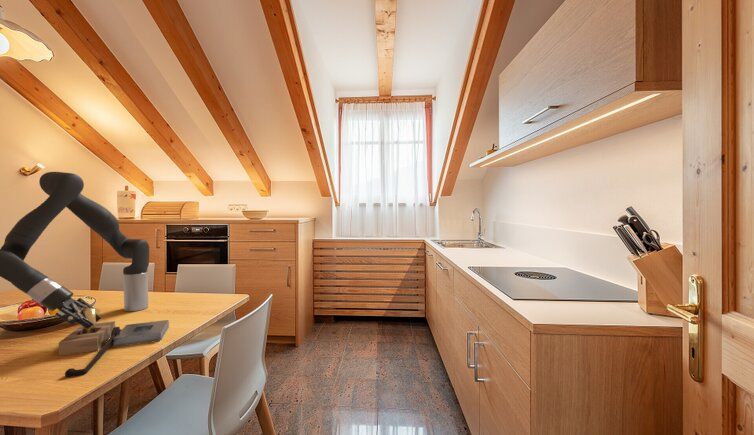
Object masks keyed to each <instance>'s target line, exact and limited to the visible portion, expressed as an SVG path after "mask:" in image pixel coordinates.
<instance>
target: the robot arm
mask: <svg viewBox="0 0 754 435" xmlns="http://www.w3.org/2000/svg"><path fill="white" fill-rule="evenodd" d="M84 186H85V183H84V180H83V178H82V177H81V176H79V175H78V174H75V173H71V172H64V171H63V172H62V171H47V172H45V173H43V174H41V176H40V178H39V187H40V189H41V190H42V191H43V192H44V193H45V194H46V195H47V196H48V197H47V198H46V199H45V200H44V201H43V202H42V203H41V204H39V205H38V206H37V207H35V208H34V209H33V210H31V211H30V212H28V213H26V214H25V215H23V216H22V217H21V218H20V219H19V220H18V221H17V222H16V224H14V225H13V227H12V228H11V230H10V231H9V232H8V233H7V234H6V235H5V238H4V243H3V245H1V247H0V277H1V278H2V279H4V280H6V281H7V282H10V283H11V285H13V286H14V287H15V288H17V289H18V290H19V291H21V292H23V293H24V294H26V295H27V296H29V297H30V298H31V299H32V300H34V301H35V302H36V303H38V304H39V305H41V306H43V307H45V308H46V309H48V310H49V311H51V312H54V311H55V310H58V311H57V312H55V314H54V315H55V316H57V317H58V318H60V319H62V320H64V321H66V322H68V323H70V324H72V325H74V324H79V325H80V326H81V325H82V326H83V327H85V328H87V329H89V328H90V327H91V326H92V325H93V323H92V322H91V321H89V320H88V319H86V318H85V317H83V316H82V310H83V309H87V308H94V306H92V305H91V304H89V303H88V302H87V301H85V300H84V299H83V298H81V297H79V298H77V300H76V299H74V298H72V297H73V296H74V293H73V292H72V291H71V290H69V289H68V288H66V287H65V286H64V285H62V284H61V283H59V282H57V281H56V280H54V279H52V278H50V277H48V276H47V275H46V274H44V273H43V272H41V271H39V270H37V269H36V268H34V267H32V266H31V265H29V263H27V262H25V261H24V260H25V258H26V257H27V255H28V254H29V251H30V250H31V248H32V247H33V246H34V245H35V243H36V242H37V240H39V238H40V236H41V235H42V234H43V232H44V231H45V230H46V229H47V228H48V226H49V225H50V224H51V223H52V222H53V220H54V219H55V218H56V217H57V216H58V215H60V213H61V212H62V211H63V210H65V209H66V208H67V209H68V210H69V211H70V212H71V213H72V214H74V215H75V216H76V217H77V218H78V219H79V220H80V221H82V222H83V223H84V224H85V225H86V226H87V227H89V228H90V229H91V230H92V231H93V232H95V233H96V234H98V235H99V237H100V238H102V239H103V240H104V241H105V242H107V243H108V244H109V246H111V248H112V249H113V250H114V251H115V252H116V253H117V254H118V255H119V256H120V257H122V258H123V259H131V264H129V265H127V266H124V268H123V269H122V276H123V277H122V280H123V309H124V312H137V311H141V310H145V309H147V308H149V280H148V267H149V264H150V245H149V242H148V241H147V240H146V239H142V238H141V239H140V238H129V237H127V236H126V235H125V234H123V233H122V231H121V230H120V224H119V220H118V219H117V217H116V216H115V215H114V214H113V213H112V212H111V211H110V210H108V208H106V207H104V206H103V205H101V204H100V203H98V202H96V201H94V200H92V199H90V198H88V197H86V196H85V195H84V194H82V192H83V190H84ZM95 315H96V323H98V322H99V321H100V320H101V319H102V316H101V315H99V314H97V313H96V312H95Z"/></svg>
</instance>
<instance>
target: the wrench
mask: <svg viewBox="0 0 754 435" xmlns="http://www.w3.org/2000/svg"><path fill="white" fill-rule="evenodd" d="M122 329H123V328H122ZM122 329H121V328H120V326H115V327H114V328H113V330H112V333H111V337H110V339H109V340H108V341H107V342H106V343H105V344H104V345H103V346H102V347H101V348H100V349H99V350H98V351H97V354H96V355H95V356H94V357H93V358H92V360H91V361H90V362H89V363H88V364H87V365H86V366H85V367H84V368H82V369H81V368H80V369H75V368H72V367H71V368H68V369H66V371H65V372H64V376H65V377H66V378H71V377H77V376H80V377H81V376H84V375H86V374H88V373H89V372H90V370H91V369H92V368H93V367H94V366H95V364H96V363H97V362H98V361H99V360H100V359H101V358H102V356H103V355H104V354H105V353H106V352H107V351H108V350H109V348H110V347H111V346H112V344H114V340H113V339H114V337H115V336H116V335H117V334H118V333H119V332H120V331H121V330H122Z"/></svg>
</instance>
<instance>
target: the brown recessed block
mask: <svg viewBox="0 0 754 435" xmlns="http://www.w3.org/2000/svg"><path fill="white" fill-rule="evenodd" d="M114 327H116V321H115V320H113V321H102V322H96V333H88V334H83V332H82V325H80V326H79V327H77V328H76V329H75V330H73V331H72V332H71V333H69V334H68V335H67V336H66V337H64V338H63V339H61V340H60V341H59V342H58V356H59V357H62V356H68V355H69V356H70V354H71V355H76V353H78V354H84V353H83V352H85V353H91V352H90V351H92V352H99V350H101V348H103V346H104V345H105V344H106V343H107V342H106V341H107V340H108V339H109V338H110V337H111V333H112V330H113V328H114ZM105 342H106V343H105ZM103 344H104V345H103ZM100 347H101V348H100ZM98 349H99V350H98Z"/></svg>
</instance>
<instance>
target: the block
mask: <svg viewBox="0 0 754 435" xmlns="http://www.w3.org/2000/svg"><path fill="white" fill-rule="evenodd" d="M169 328H170V320H169V319H166V320H155V321H147V322H139V323H138V322H136V323H131V324H125V325H124V327H122V330H121V331H120V332H119V333H118V334H117V335H116V336H115V337H114V339H113V340H114V342H113V348H114V347H123V346H124V347H125V346H130V345H131V344H132V345H138V343H140V344H146V343H145V342H147V343H153V342H152V341H154V342H160V340H161V341H162V340H163V338H164V336H165V335H166V333H167V331H168V330H169Z"/></svg>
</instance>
